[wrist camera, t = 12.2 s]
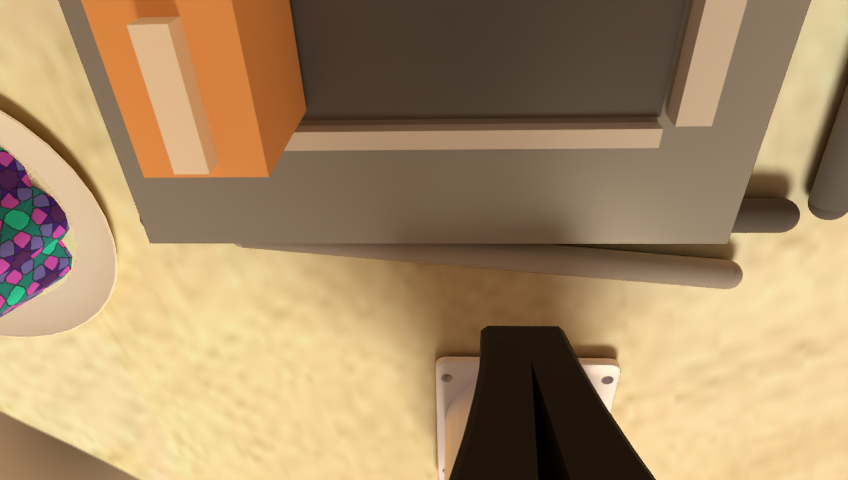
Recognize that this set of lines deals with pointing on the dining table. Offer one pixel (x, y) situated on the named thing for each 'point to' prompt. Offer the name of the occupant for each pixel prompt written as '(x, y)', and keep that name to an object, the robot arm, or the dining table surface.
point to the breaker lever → (202, 82)
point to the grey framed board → (495, 124)
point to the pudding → (48, 241)
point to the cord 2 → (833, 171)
